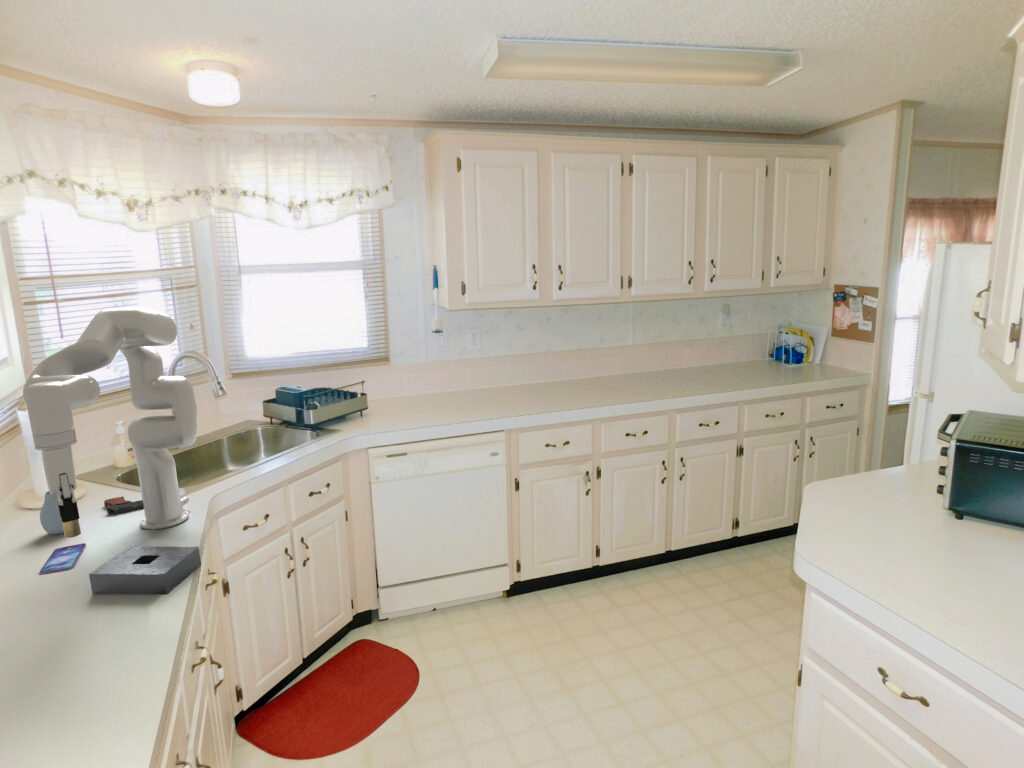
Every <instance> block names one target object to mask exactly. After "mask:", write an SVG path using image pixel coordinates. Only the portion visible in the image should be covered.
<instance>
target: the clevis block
mask: <svg viewBox="0 0 1024 768" xmlns="http://www.w3.org/2000/svg"><path fill="white" fill-rule="evenodd" d="M200 554H201V553H200V548H199V546H153V545H152V546H150V545H149V546H136V545H135V546H134V545H133V546H132V545H131V546H128V547H126V549H123V550H122V551H120V552H119V553H118V554H116V555H115V556H114V557H111V558H110V559H109V560H107V561H106V562H104V563H103V564H101V565H100V566H99V567H97V568H95V569H94V570H92V571H91V572H89V573H88V577H89V582H90V588H91V594H92V595H139V596H140V595H143V596H144V595H148V596H149V595H150V596H151V595H155V596H156V595H157V596H158V595H161V596H164V595H165V596H168V594H170V592H172V591H173V590H175V588H177V587H178V586H179V585H180V584H181V583H182V582H184V581H185V580H186V579H187V578H188V577H189V576H191V575H192V574H193V573H194V572H196V570H198V569H199V568H200V567H201V566H202V562H201V561H202V559H201V555H200Z"/></svg>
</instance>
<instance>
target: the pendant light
mask: <svg viewBox="0 0 1024 768" xmlns="http://www.w3.org/2000/svg"><path fill="white" fill-rule="evenodd" d="M57 501H58V498H57V492H56V493H54V495H52V494H50V492H49V490H48V491H46V492H45V493H44V502H43V503H42V506H41V510H40V512H39V520H40V524H41V527H42V528H43V530H44V531H45V532H46V533H47V534H49V535H50V534H51V535H61V534H64V530H63V524H62V519H61V517H60V512H59V507H58V502H57Z"/></svg>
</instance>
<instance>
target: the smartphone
mask: <svg viewBox="0 0 1024 768" xmlns="http://www.w3.org/2000/svg"><path fill="white" fill-rule="evenodd" d="M86 547H87V544H86V543H85V542H84V543H83V542H82V543H77V544H74V545H73V544H71V545H67V546H62V547H59V548H58V547H57V548H55V549H54V550H53V551H52V552H51V554H50V555H49V557H48V558H47V560H46V561H45V563H44V564H43V565H42V567H41V568H40V570H39V571H38V572H39V574H40V575H46V574H51V573H57V572H62V571H68V570H72V569H74V568H75V567H76V565H77V563H78V562H79V559H81V556H82V554H83V552H84V550H85V549H86Z"/></svg>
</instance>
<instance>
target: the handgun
mask: <svg viewBox="0 0 1024 768" xmlns="http://www.w3.org/2000/svg"><path fill="white" fill-rule="evenodd" d="M103 505H104V508H105V507H106V508H105V509H106V511H107V515H116V514H121V513H126V512H132V511H137V510H140V509H144V506H143V500H142V499H141V500H140V499H139V500H136V501H131V500H126V499H125V498H124V496H117V497H113V498H109V499H105V500H104V502H103Z"/></svg>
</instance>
